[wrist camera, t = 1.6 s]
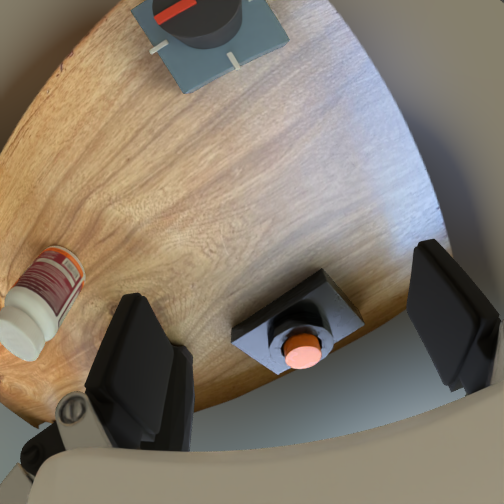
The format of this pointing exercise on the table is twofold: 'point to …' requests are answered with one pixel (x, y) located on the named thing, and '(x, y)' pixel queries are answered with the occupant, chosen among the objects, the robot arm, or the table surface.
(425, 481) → the robot arm
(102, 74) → the table surface
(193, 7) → the dial
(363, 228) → the table surface
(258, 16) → the panel
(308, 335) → the button
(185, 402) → the portable speaker
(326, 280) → the button block
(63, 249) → the pill bottle
